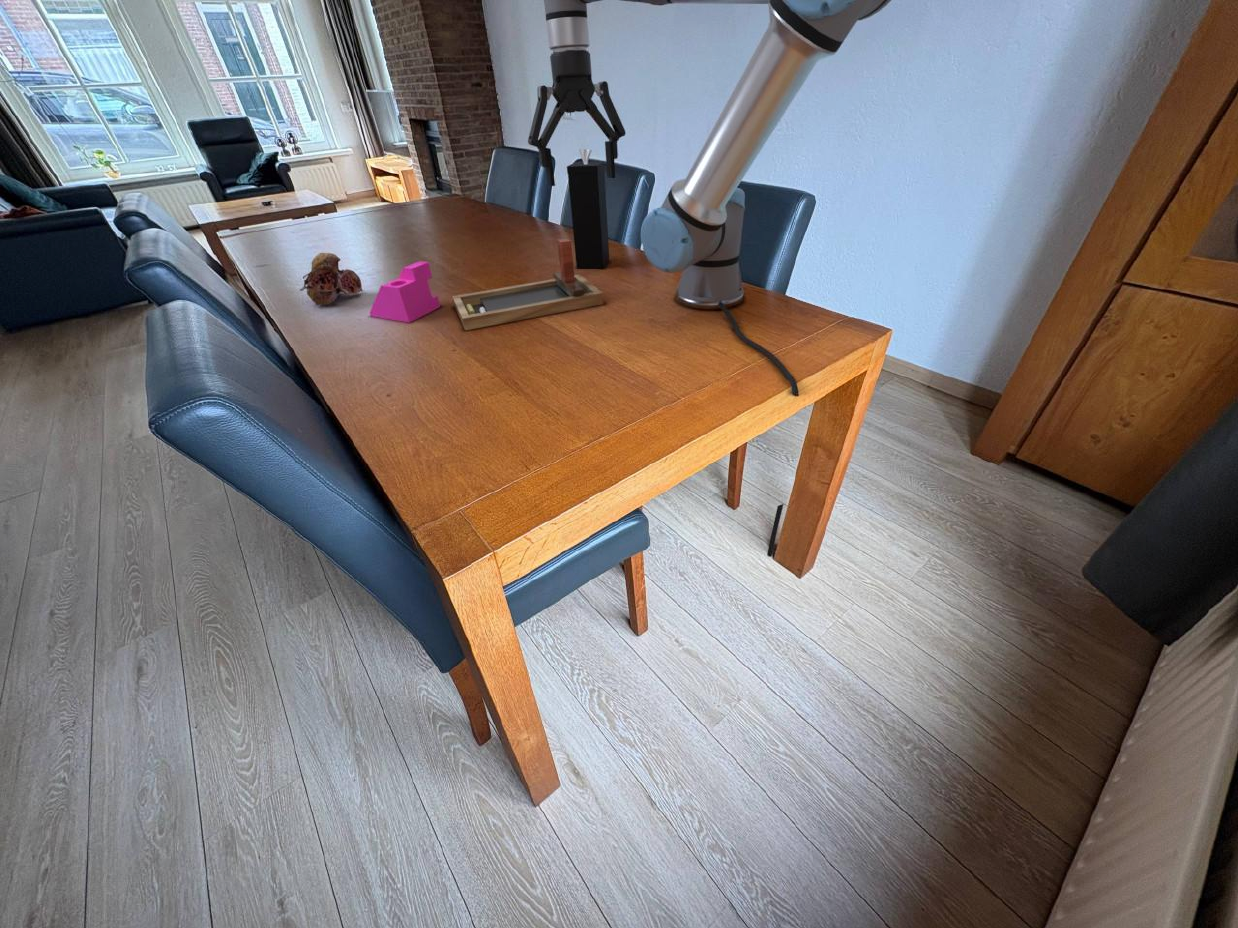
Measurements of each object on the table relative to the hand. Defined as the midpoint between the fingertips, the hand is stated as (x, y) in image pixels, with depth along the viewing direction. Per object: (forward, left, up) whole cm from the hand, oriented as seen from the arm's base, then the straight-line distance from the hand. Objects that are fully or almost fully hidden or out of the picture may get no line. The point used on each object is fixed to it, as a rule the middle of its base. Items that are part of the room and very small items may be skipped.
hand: (581, 181), depth 104 cm
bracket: (+13, +42, -25) cm, 50 cm away
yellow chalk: (+3, +28, -24) cm, 37 cm away
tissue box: (+25, -10, -25) cm, 36 cm away
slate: (+2, +15, -24) cm, 29 cm away
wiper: (+2, +5, -23) cm, 23 cm away
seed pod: (+30, +58, -25) cm, 70 cm away
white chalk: (0, +26, -24) cm, 35 cm away
